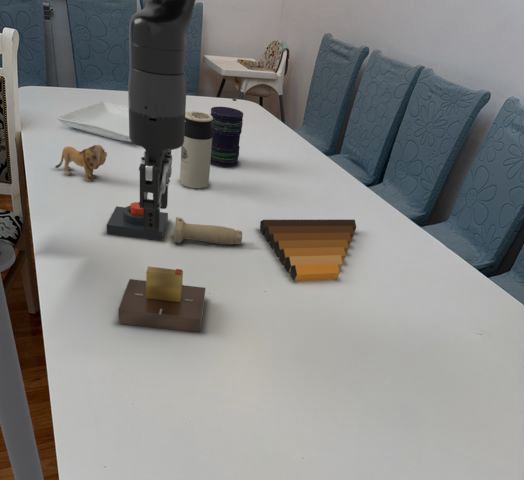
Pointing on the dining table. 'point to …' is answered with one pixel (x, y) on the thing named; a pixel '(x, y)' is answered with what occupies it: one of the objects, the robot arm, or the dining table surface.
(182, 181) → the travel mug
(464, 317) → the dining table surface
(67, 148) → the lion figurine
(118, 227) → the button housing
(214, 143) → the storage jar
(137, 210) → the button
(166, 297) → the lock knob
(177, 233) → the handle
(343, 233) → the pan flute
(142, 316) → the panel
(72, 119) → the square plate
